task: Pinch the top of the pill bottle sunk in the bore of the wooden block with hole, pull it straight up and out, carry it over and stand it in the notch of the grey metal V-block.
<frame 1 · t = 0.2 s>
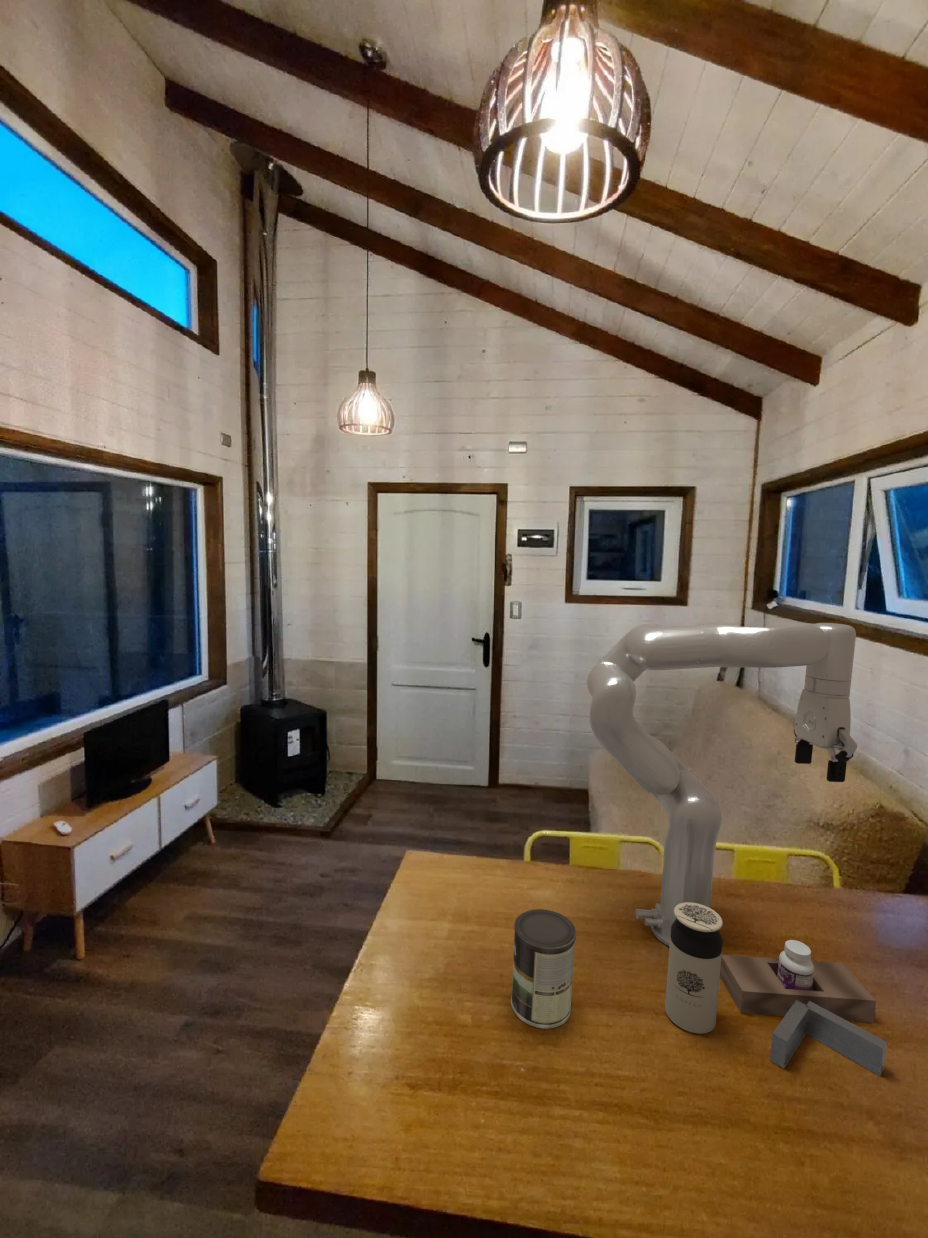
hand: (818, 772, 112), 36 cm above the table, tool pointing down, fingers open, 9 cm apart
pill bottle: (792, 999, 100), on the table
coffee can: (540, 1006, 97), on the table
travel mug: (689, 1017, 95), on the table
v block: (823, 1060, 88), on the table
wooden block with hole: (792, 997, 100), on the table
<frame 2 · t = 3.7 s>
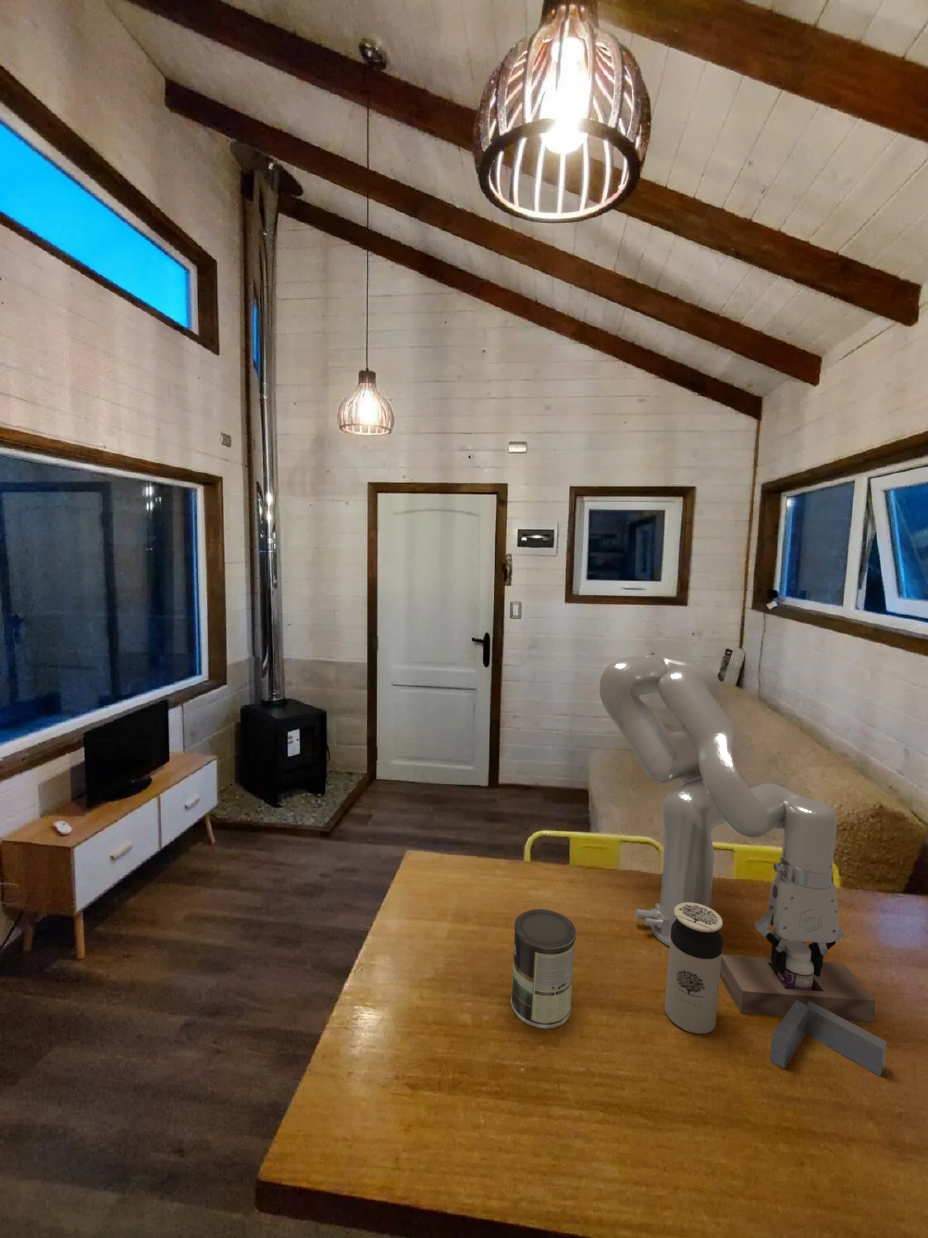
hand: (795, 968, 100), 5 cm above the table, tool pointing down, fingers closed on pill bottle, 5 cm apart
pill bottle: (792, 999, 100), on the table, touching gripper
everything else where it was.
when the fingers open (7 cm above the table, at t = 9.9 s): pill bottle drops 1 cm, on the table.
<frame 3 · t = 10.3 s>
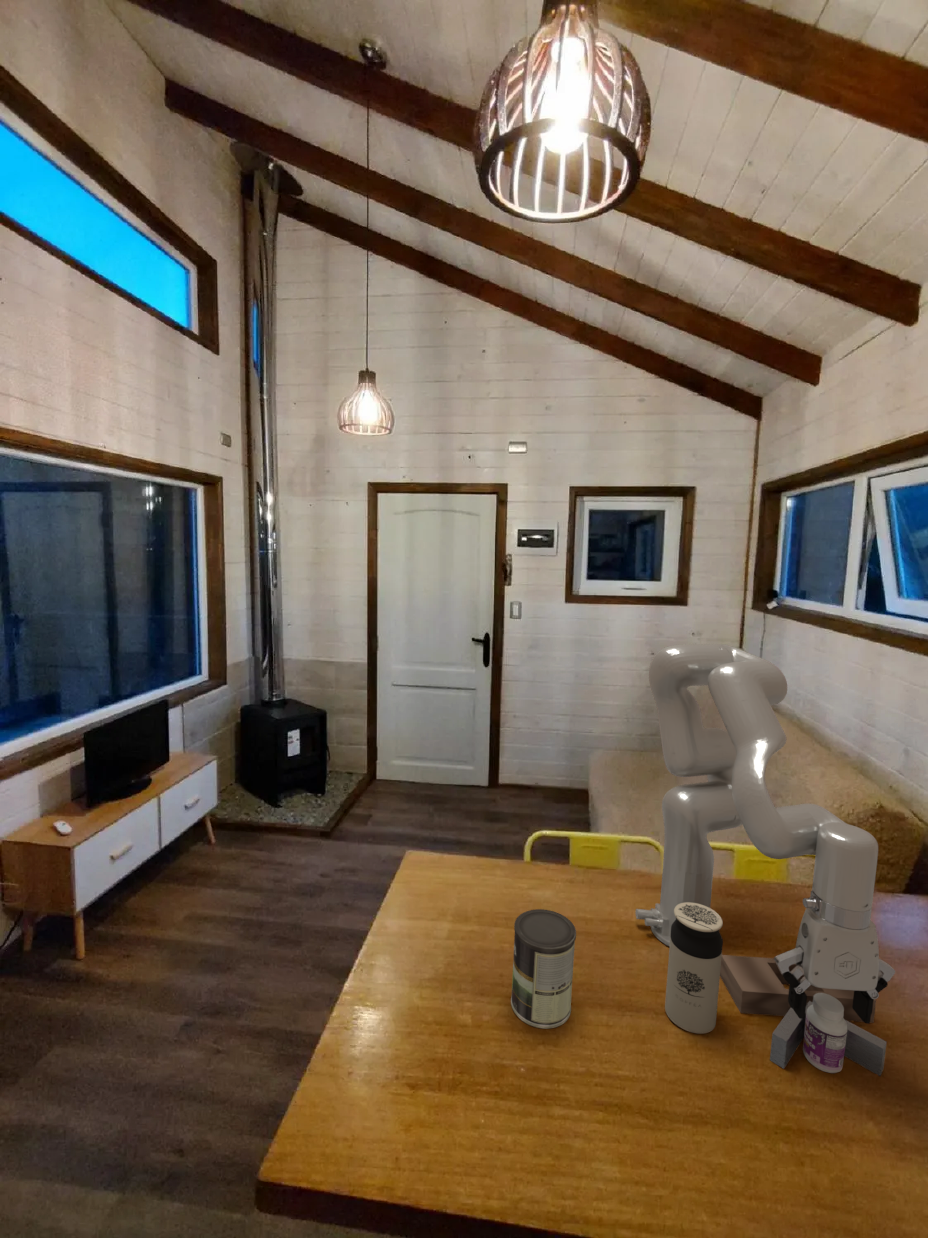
hand: (828, 1014, 87), 8 cm above the table, tool pointing down, fingers open, 9 cm apart
pill bottle: (821, 1061, 88), on the table
everything else where it was.
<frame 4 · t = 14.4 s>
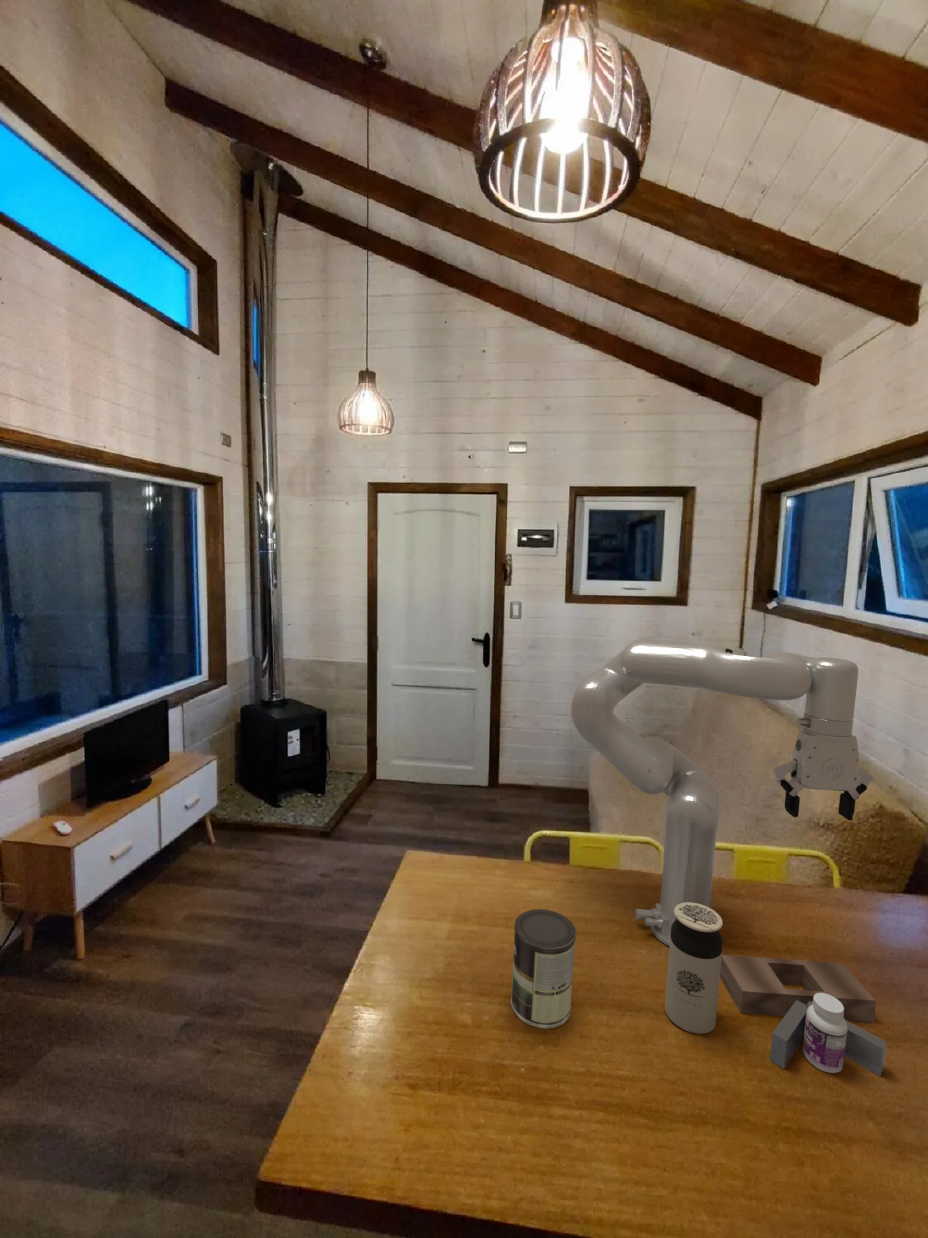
hand: (818, 815, 105), 30 cm above the table, tool pointing down, fingers open, 9 cm apart
nothing on the table moved.
at the end: pill bottle 0.5 cm off-centre on the v block, point 0.0 cm above the v block's base; pill bottle tilted 0°; the gripper is holding nothing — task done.
